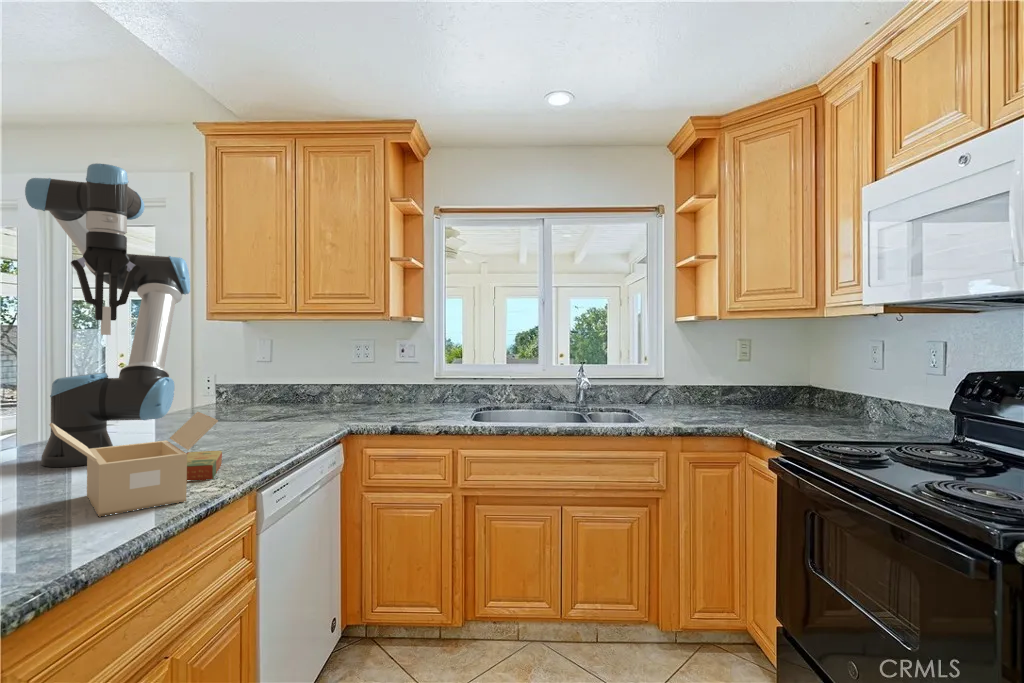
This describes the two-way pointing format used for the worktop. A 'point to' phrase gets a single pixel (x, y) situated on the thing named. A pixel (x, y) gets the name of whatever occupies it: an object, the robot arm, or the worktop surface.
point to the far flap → (193, 430)
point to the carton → (203, 464)
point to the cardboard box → (136, 477)
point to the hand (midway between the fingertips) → (105, 334)
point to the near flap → (72, 441)
